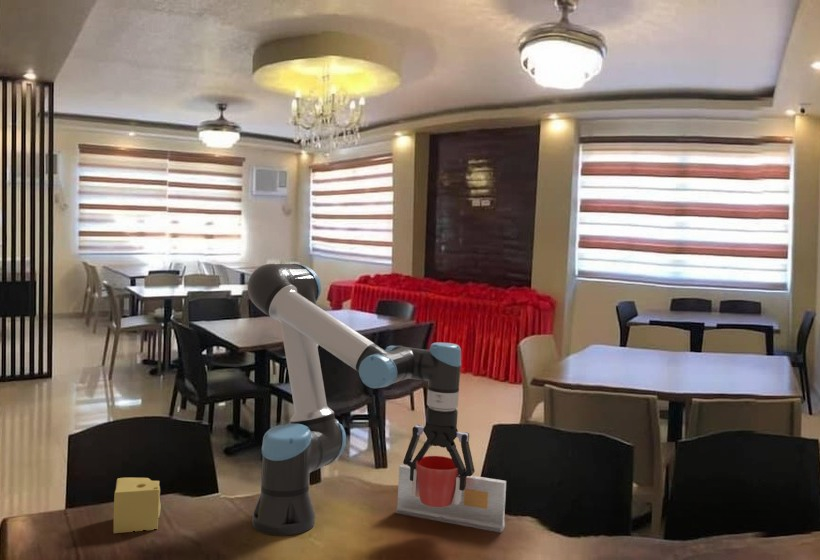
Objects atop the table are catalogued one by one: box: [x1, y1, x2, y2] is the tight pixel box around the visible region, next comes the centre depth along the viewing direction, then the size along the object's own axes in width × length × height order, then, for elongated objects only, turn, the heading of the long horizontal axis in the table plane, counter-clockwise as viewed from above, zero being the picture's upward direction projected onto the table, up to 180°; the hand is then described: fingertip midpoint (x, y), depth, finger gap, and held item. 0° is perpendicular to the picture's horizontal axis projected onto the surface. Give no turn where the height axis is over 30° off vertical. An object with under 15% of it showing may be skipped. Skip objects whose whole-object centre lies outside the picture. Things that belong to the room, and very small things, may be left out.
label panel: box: [395, 463, 507, 533], centre depth 173 cm, size 28×4×12 cm, turn 69°
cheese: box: [113, 477, 162, 534], centre depth 163 cm, size 10×11×10 cm
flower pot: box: [416, 455, 459, 507], centre depth 164 cm, size 11×11×10 cm
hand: (436, 498), depth 164 cm, fingers closed on flower pot, 10 cm apart
